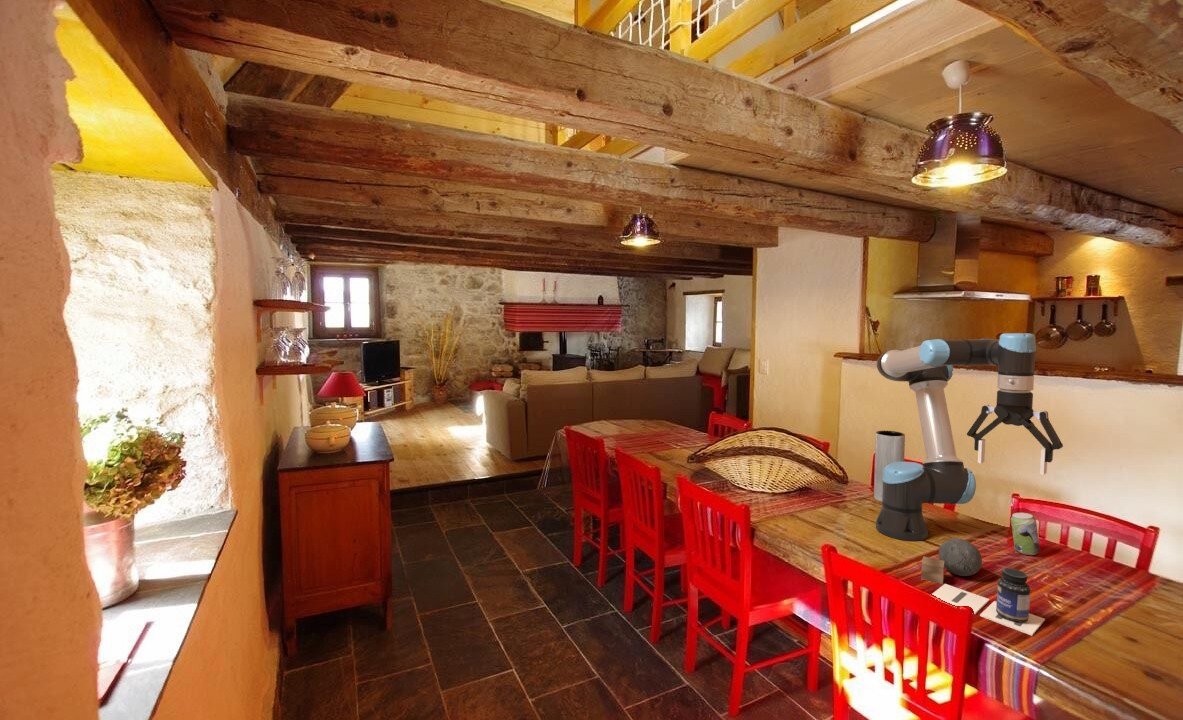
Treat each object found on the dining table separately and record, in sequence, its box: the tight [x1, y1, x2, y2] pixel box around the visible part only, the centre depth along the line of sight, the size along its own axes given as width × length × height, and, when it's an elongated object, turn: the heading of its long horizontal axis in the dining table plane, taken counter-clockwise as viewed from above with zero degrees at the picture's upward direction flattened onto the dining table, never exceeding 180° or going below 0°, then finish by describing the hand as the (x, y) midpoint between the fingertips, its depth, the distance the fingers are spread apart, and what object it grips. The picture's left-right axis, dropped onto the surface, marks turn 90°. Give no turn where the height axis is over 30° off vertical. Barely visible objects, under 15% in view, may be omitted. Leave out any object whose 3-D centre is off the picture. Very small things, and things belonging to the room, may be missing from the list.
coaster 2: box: [979, 600, 1046, 637], centre depth 125 cm, size 10×10×1 cm
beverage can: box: [1010, 512, 1041, 556], centre depth 159 cm, size 6×7×12 cm
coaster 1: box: [931, 583, 990, 615], centre depth 134 cm, size 10×10×1 cm
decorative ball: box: [938, 538, 983, 577], centre depth 147 cm, size 10×10×10 cm
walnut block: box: [920, 555, 945, 586], centre depth 144 cm, size 5×5×5 cm
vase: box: [873, 430, 906, 503], centre depth 206 cm, size 10×10×27 cm
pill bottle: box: [996, 567, 1031, 623], centre depth 125 cm, size 6×6×11 cm
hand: (1010, 468), depth 141 cm, fingers open, 13 cm apart
